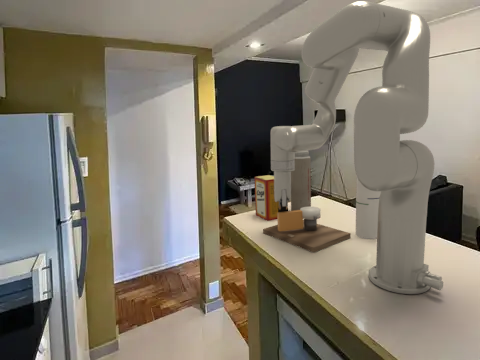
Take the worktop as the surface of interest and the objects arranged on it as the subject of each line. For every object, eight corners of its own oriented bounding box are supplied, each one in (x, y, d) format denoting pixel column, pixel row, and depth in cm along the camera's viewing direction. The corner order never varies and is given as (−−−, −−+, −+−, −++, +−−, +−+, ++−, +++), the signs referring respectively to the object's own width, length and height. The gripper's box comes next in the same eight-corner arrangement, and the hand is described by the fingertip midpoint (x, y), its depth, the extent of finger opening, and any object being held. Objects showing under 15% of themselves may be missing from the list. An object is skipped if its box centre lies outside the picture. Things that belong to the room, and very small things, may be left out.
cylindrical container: (382, 239, 98) (384, 157, 93) (357, 238, 99) (359, 158, 94) (376, 231, 104) (379, 154, 100) (353, 230, 106) (355, 155, 101)
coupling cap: (313, 221, 109) (313, 205, 108) (325, 229, 101) (325, 211, 100) (274, 226, 106) (273, 209, 105) (283, 234, 98) (282, 216, 97)
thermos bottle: (313, 210, 132) (313, 141, 127) (307, 215, 125) (306, 143, 120) (295, 208, 136) (294, 142, 131) (288, 213, 130) (286, 143, 125)
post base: (350, 237, 100) (350, 220, 99) (314, 252, 90) (313, 234, 89) (298, 222, 117) (298, 207, 116) (263, 233, 108) (262, 217, 107)
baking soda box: (255, 215, 129) (254, 175, 126) (269, 212, 132) (268, 174, 129) (267, 221, 120) (266, 179, 118) (282, 218, 123) (281, 177, 120)
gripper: (270, 162, 110) (271, 213, 113) (271, 169, 95) (272, 228, 99) (292, 161, 109) (292, 213, 113) (297, 168, 95) (297, 228, 98)
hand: (283, 220), depth 106 cm, fingers closed
